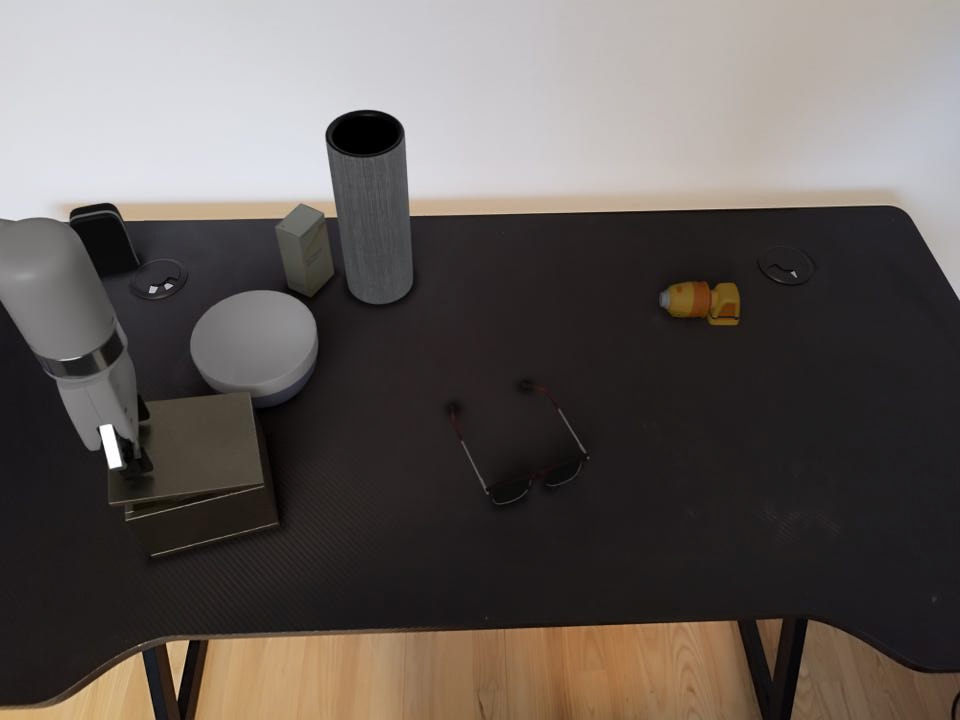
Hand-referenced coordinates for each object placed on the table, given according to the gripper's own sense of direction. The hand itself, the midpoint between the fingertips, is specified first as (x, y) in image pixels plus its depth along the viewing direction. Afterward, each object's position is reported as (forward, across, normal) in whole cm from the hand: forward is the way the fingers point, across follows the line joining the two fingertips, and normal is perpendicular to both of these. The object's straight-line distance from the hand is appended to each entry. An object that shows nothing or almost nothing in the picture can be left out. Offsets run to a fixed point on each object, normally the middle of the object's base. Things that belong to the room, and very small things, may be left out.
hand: (136, 444), depth 86 cm
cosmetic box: (+14, -33, +23) cm, 42 cm away
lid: (+2, 0, +4) cm, 5 cm away
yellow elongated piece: (+12, -11, +77) cm, 79 cm away
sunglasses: (+13, +3, +43) cm, 45 cm away
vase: (+14, -30, +33) cm, 47 cm away
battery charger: (+15, -44, -5) cm, 47 cm away
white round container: (+14, -16, +14) cm, 26 cm away
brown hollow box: (+14, 0, +5) cm, 15 cm away
